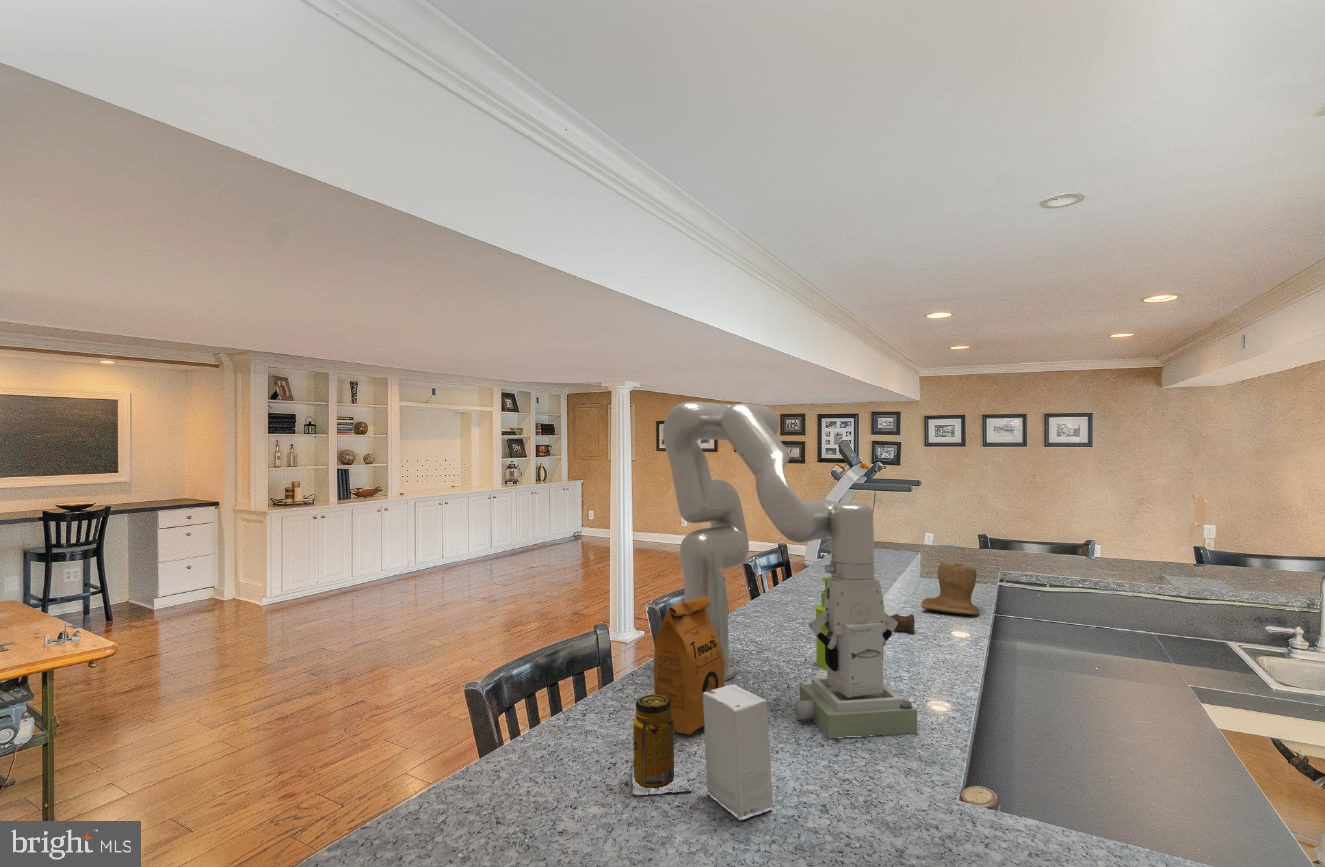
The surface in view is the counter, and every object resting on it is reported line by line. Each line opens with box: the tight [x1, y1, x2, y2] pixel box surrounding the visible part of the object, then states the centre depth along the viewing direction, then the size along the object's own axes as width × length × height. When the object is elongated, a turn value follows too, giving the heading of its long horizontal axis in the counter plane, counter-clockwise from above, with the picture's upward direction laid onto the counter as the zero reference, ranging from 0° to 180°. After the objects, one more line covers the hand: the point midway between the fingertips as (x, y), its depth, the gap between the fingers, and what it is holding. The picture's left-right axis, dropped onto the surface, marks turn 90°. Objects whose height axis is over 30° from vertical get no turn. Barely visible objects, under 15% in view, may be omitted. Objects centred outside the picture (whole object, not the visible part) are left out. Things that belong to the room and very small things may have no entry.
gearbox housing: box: [794, 676, 918, 739], centre depth 113 cm, size 19×14×6 cm
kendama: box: [885, 613, 916, 634], centre depth 170 cm, size 6×10×20 cm
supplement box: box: [826, 623, 884, 698], centre depth 113 cm, size 7×7×13 cm
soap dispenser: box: [815, 575, 832, 670], centre depth 141 cm, size 6×7×20 cm
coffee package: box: [653, 596, 725, 735], centre depth 112 cm, size 10×12×22 cm
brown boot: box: [920, 560, 980, 615], centre depth 186 cm, size 15×12×15 cm
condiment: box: [632, 694, 675, 788], centre depth 92 cm, size 7×8×12 cm
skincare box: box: [703, 683, 774, 817], centre depth 87 cm, size 8×6×15 cm
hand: (854, 666), depth 113 cm, fingers closed on supplement box, 7 cm apart
